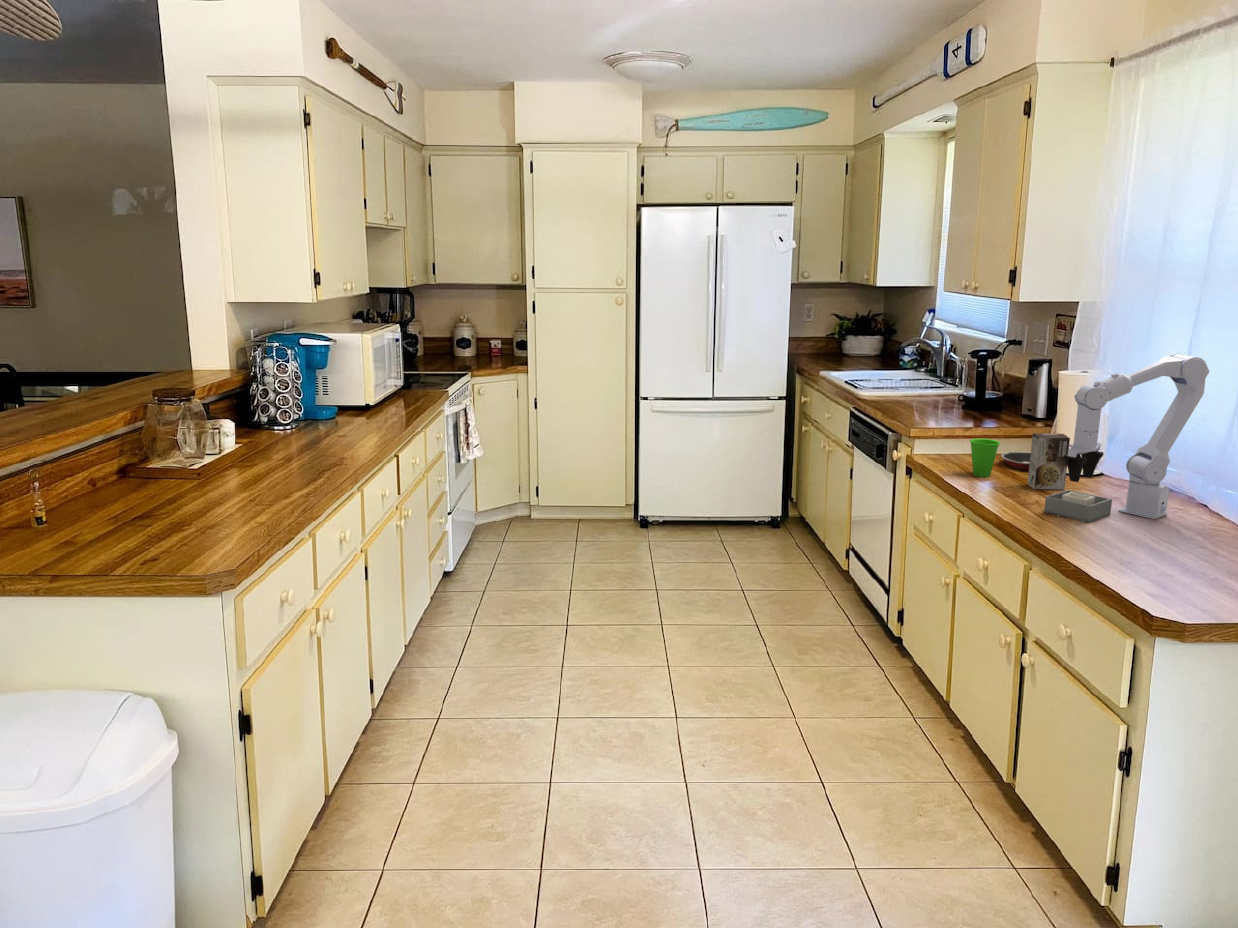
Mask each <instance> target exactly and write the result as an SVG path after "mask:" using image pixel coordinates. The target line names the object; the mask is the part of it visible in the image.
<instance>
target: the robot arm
mask: <svg viewBox="0 0 1238 928" xmlns="http://www.w3.org/2000/svg"><path fill="white" fill-rule="evenodd" d="M1209 373H1210V369H1209V367H1208V365H1207V362H1206V361H1205V359H1203V358H1201V357H1199V356H1191V355H1185V354H1183V353H1178V352H1177V353H1172V354H1170V355H1167V356H1164V357H1161V358H1160V359H1159V360H1156V361H1155V362H1152V363H1150V364H1149V365H1147V366H1146V365H1145V366H1143V367H1142V368H1140V369H1138V370H1136V371H1133V372H1131V373H1129V374H1125V373H1116V372H1114V373H1112V374H1111V376H1110V377H1108V378H1106V379H1104V380H1100V381H1099V380H1096V381H1094V384H1093V385H1090V384H1086V385H1083V386H1081V387H1080V388H1079V389H1078V390H1077V392H1076V394H1074V401H1075V403H1076V404H1077V411H1076V419H1075V428H1074V434H1073V435H1074V437H1073V443H1069V449H1068V454H1065V455H1064V459H1065V461H1066V464H1067V471H1068V476H1069V477H1068V478H1069V481H1070V482H1075V483H1079V481H1080V479H1081V475H1082V477H1083V478H1084V477H1085V478H1090V479H1091V478H1093V476H1094V474H1095V471H1096V468H1097V465H1098V464H1099V462H1100V460H1101V459H1102V457H1104V454H1105V453H1104V452H1103V451H1101V445H1102V443H1100V442H1098V439H1099V431H1100V424H1101V423H1100V422H1101V413H1102V408H1104V407H1105V406H1106V404H1107V403H1108V402H1111V401H1113V400H1115V399H1118V398H1120V397H1123V396H1125V395H1127V394H1130V393H1131V392H1132V390H1133V387H1136V386H1139V385H1141V384H1144V383H1147V382H1149V381H1150V382H1151V381H1153V380H1156V379H1158V378H1160V377H1161V378H1162V377H1169V379H1171V380H1172V382H1173V383H1174V384H1175V388H1176V390H1177V394H1176V395H1175V397H1174V399H1173V401H1172V402H1171V403H1170V405H1169V407H1168V409H1167V410H1166V412H1165V414H1164V415H1163V416H1162V419H1161V420H1160V422H1159V423H1158V425H1157V427H1156V428H1155V431H1154V432H1153V434H1152V435H1151V437H1150V439H1149V440H1148V442H1147V443H1146V444H1144V445H1142V446H1141V447H1139V448H1138V449H1137V451H1136V452H1135V453H1134V454H1132V455H1131V456H1130V457H1129V458H1128V460H1127V461H1126V463H1125V469H1126V471H1127V473H1128V474H1129V477H1128V478H1129V480H1128V487H1127V494H1126V501H1125V507H1122V508H1121V509H1120V508H1119V509H1118V511H1119V512H1120V513H1125V514H1130V515H1133V516H1139V517H1143V518H1148V519H1153V520H1155V519H1158V518H1161V517H1164V516H1167V514H1168V513H1167V508H1168V502H1169V496H1170V490H1169V487H1168V485H1165V484H1162V483H1161V482H1162V481H1163V480H1164V479H1165V477H1166V476H1167V469H1168V466H1169V465H1170V462H1171V460H1170V456H1169V452H1170V451H1171V449H1172V447H1173V446H1174V444H1175V442H1176V440H1177V439H1178V437H1179V436H1180V433H1182V430H1183V429H1184V428H1185V425H1186V424H1187V422H1188V420H1189V419H1190V417H1191V416H1192V414H1193V413H1194V411H1195V409H1196V408H1197V406H1198V404H1199V402H1200V401H1201V400H1202V398H1203V396H1204V394H1205V385H1206V379H1207V377H1208V375H1209Z"/></svg>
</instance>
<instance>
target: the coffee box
mask: <svg viewBox="0 0 1238 928" xmlns="http://www.w3.org/2000/svg"><path fill="white" fill-rule="evenodd" d="M1031 437H1032V440H1031V447H1030V448H1031V449H1030V452H1031V456H1030V466H1029V471H1028V476H1027V485H1028V486H1029V487H1031V488H1032V489H1033V490H1055V491H1056V490H1060V491H1061V490H1063V491H1065V490H1066V489H1065V488H1066V479H1067V471H1068V467H1067V464H1066V461H1065V459H1064V455H1065V454H1068V449H1070V447H1069V444H1071V443H1070V441H1071V438H1070V437H1069V436H1067V435H1066V434H1064V433H1039V432H1038V433H1037V432H1035V433H1032V436H1031Z"/></svg>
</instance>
